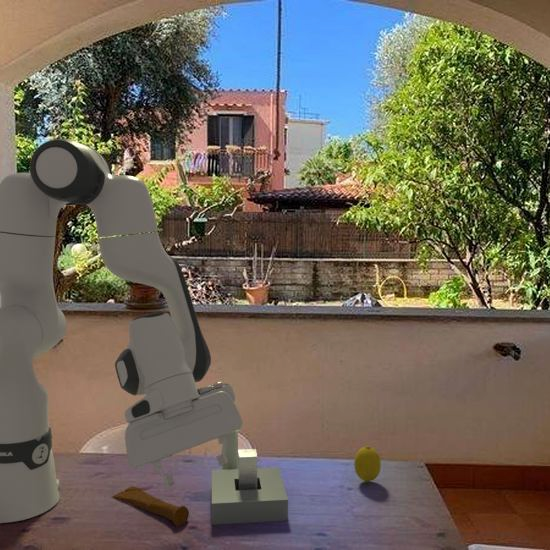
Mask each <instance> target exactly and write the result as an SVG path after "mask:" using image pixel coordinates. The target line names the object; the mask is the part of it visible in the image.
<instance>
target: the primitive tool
mask: <svg viewBox="0 0 550 550" xmlns="http://www.w3.org/2000/svg"><path fill="white" fill-rule="evenodd" d="M113 495H114V496H113ZM113 495H112V498H113V497H114V498H113V499H115V498H116V499H115V500H117V499H119V500H118V501H120V500H121V501H120V502H123V501H124V503H126V502H127V503H126V504H129V503H130V505H132V506H134V505H135V506H134V507H137V508H141V509H143V510H144V511H148V512H150V513H152V514H155V515H158V516H161V517H163V518H165V519H167V520H170V521H172V522H173V525H175V527H179V526H182V525H184V524H185V523H187V522H188V520H189V516H190V515H189V514H190V511H189V509H188V507H186V505H181V506H179V505H174V504H173V503H168V502H166V501H164V500H162V499H160V498H157V497H155V496H153V495H150V493H147V492H146V491H143V488H141V487H137V486H130V487H127V488H125V491H124V490H121V492H117V493H116V494H113Z"/></svg>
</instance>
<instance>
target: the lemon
mask: <svg viewBox="0 0 550 550" xmlns="http://www.w3.org/2000/svg"><path fill="white" fill-rule="evenodd" d="M354 457H355V458H354V464H353V465H354V471H355V473H356V475H357V476H358V478H360V479H361V480H362V481H364V482H365V483H370V482H371V481H374V480H375V479H376V478H377V477H379V475H380V472H381V465H382V464H381V457H380V455H379V453H378V451H376V449H374V448H373V447H371V446H370V445H366V446H363V447H361V448H360V449H358V451H357V452H356V454H355V456H354Z"/></svg>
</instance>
